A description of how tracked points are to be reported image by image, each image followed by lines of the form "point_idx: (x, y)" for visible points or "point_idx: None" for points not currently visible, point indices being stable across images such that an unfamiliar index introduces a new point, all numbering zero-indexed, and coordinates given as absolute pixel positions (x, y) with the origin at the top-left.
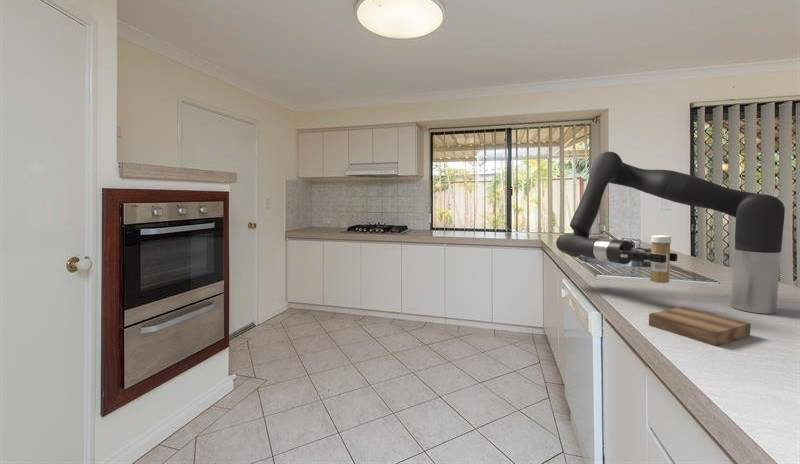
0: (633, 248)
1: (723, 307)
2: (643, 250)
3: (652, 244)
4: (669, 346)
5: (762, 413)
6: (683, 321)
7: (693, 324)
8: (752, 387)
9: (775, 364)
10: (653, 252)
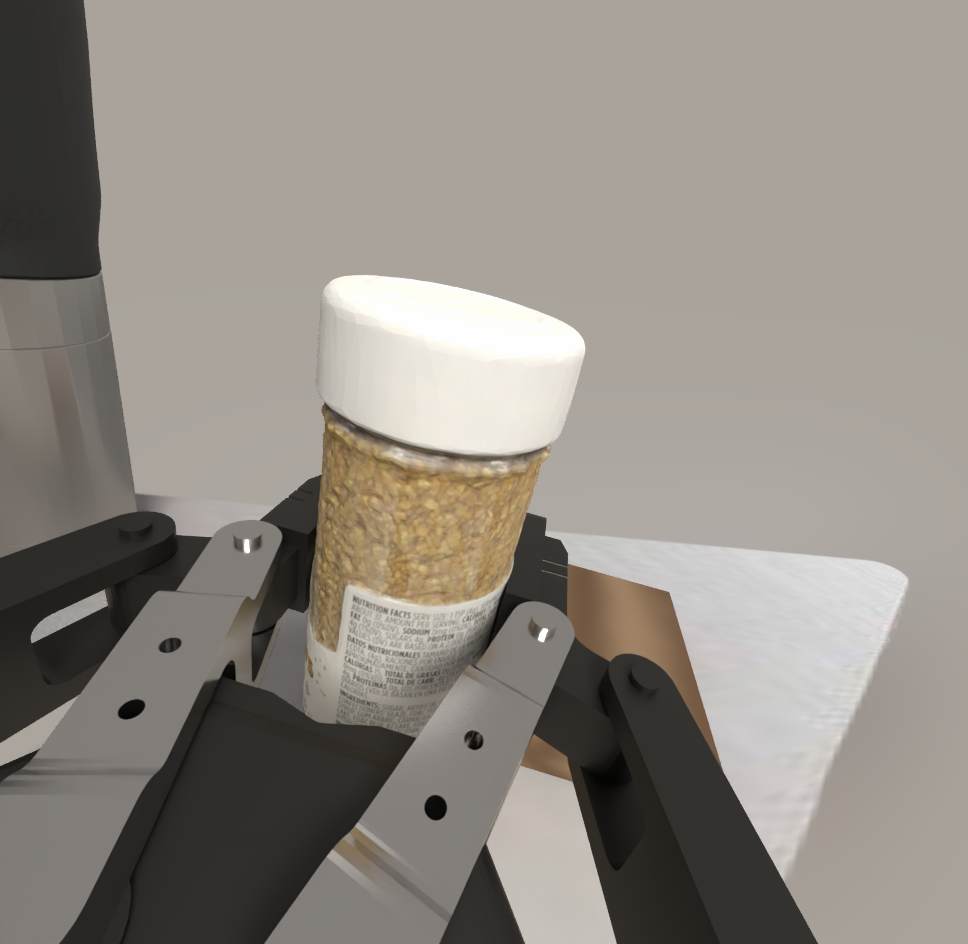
0: (440, 935)
1: (55, 628)
2: (490, 676)
3: (511, 486)
4: (796, 701)
5: (839, 573)
6: (668, 661)
7: (663, 636)
8: (779, 578)
9: (634, 552)
10: (500, 574)
